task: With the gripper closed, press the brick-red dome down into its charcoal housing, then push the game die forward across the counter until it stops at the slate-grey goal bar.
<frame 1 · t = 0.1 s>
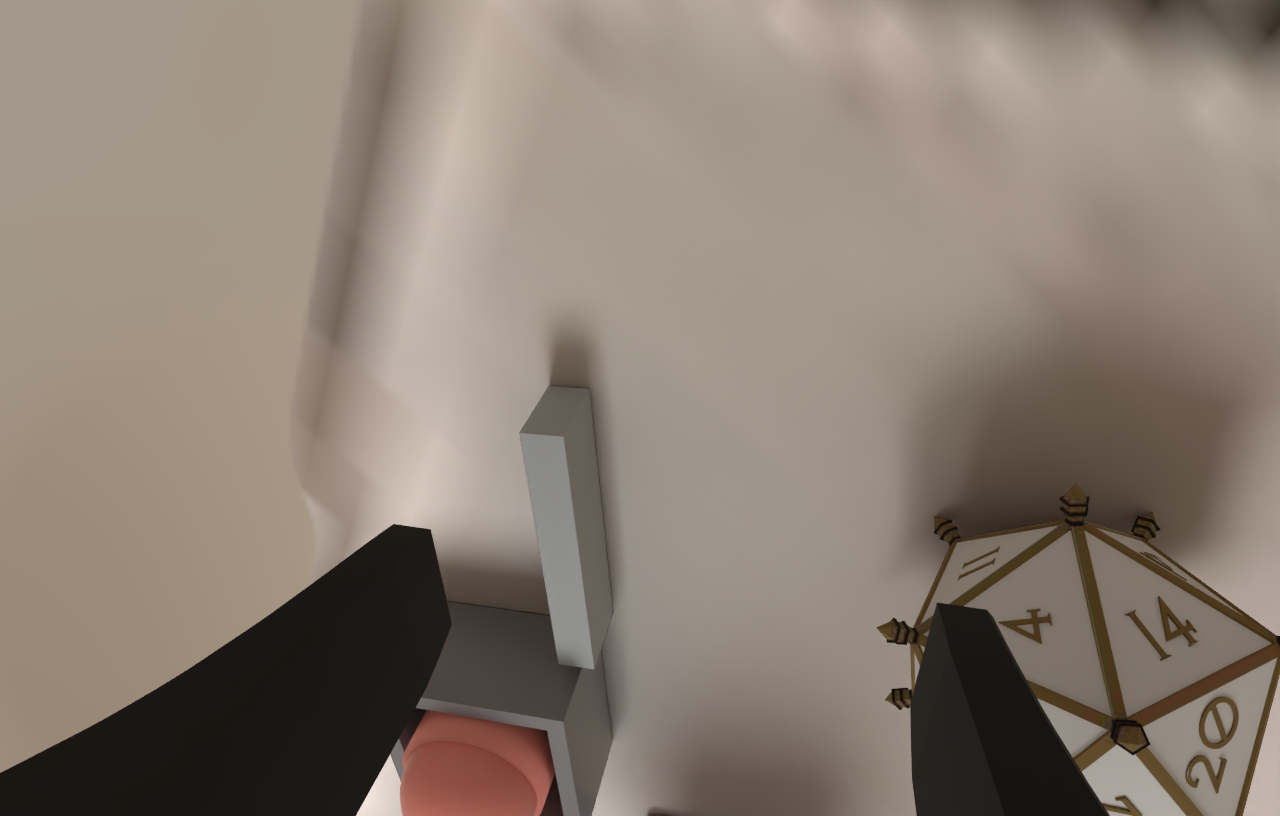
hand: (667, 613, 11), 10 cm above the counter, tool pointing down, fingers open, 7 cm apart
dome: (475, 777, 26), point 4 cm above the counter, slide at 0.0 cm
game die: (1035, 552, 21), on the counter
dome housing: (520, 672, 29), on the counter
goal bar: (584, 510, 24), on the counter
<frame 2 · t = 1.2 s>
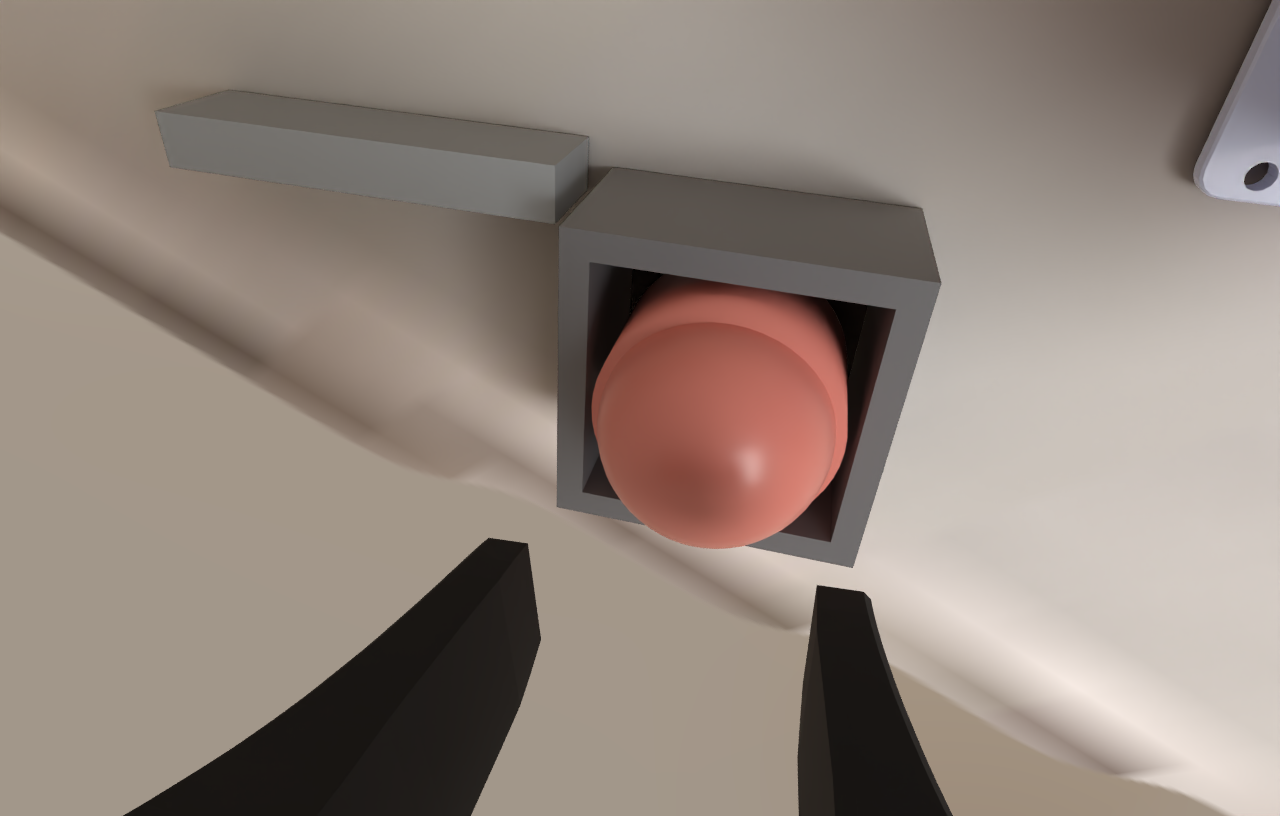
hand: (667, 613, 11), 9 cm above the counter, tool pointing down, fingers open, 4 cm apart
dome: (716, 422, 15), point 4 cm above the counter, slide at 0.0 cm
dome housing: (741, 324, 19), on the counter
goal bar: (404, 138, 18), on the counter
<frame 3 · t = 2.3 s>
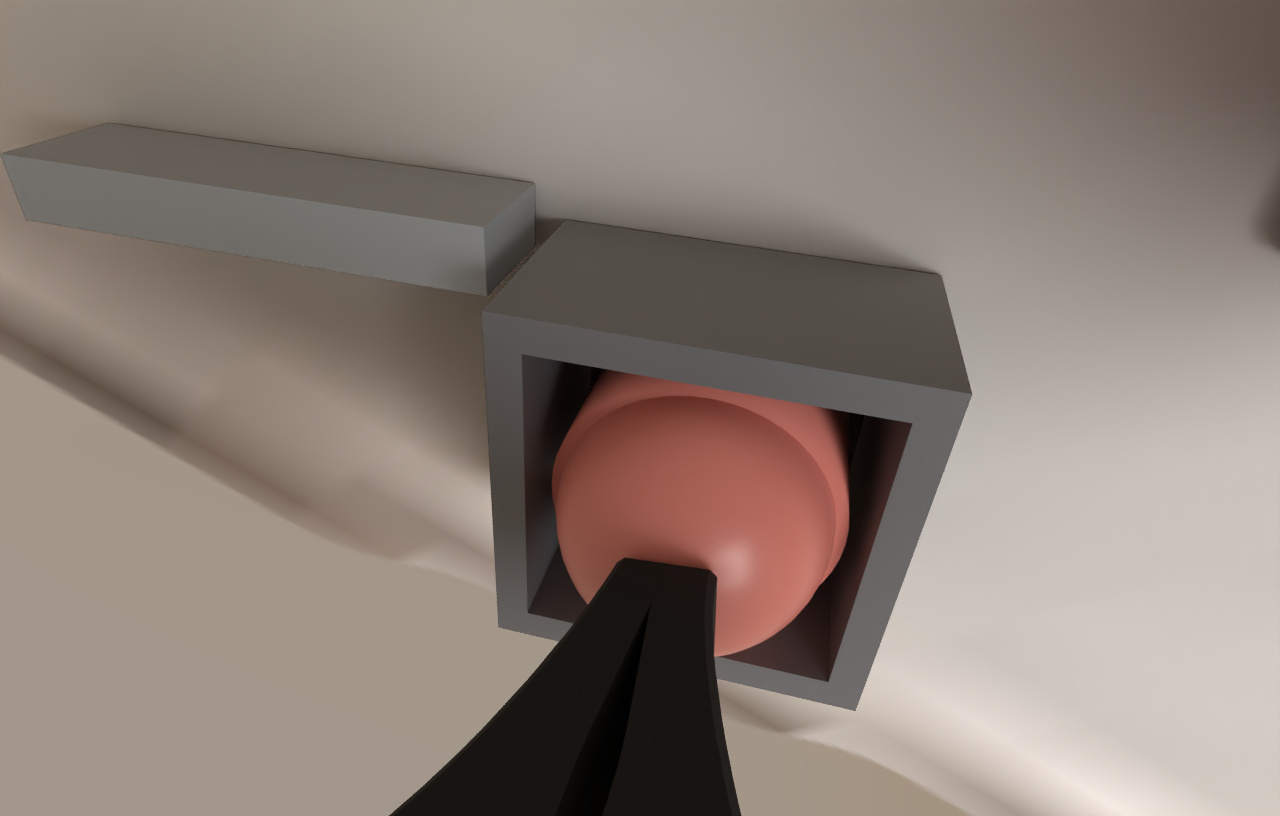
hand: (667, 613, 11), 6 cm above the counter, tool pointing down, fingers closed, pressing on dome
dome: (696, 503, 13), point 3 cm above the counter, slide at 1.1 cm, touching gripper
dome housing: (722, 403, 16), on the counter
goal bar: (317, 182, 15), on the counter
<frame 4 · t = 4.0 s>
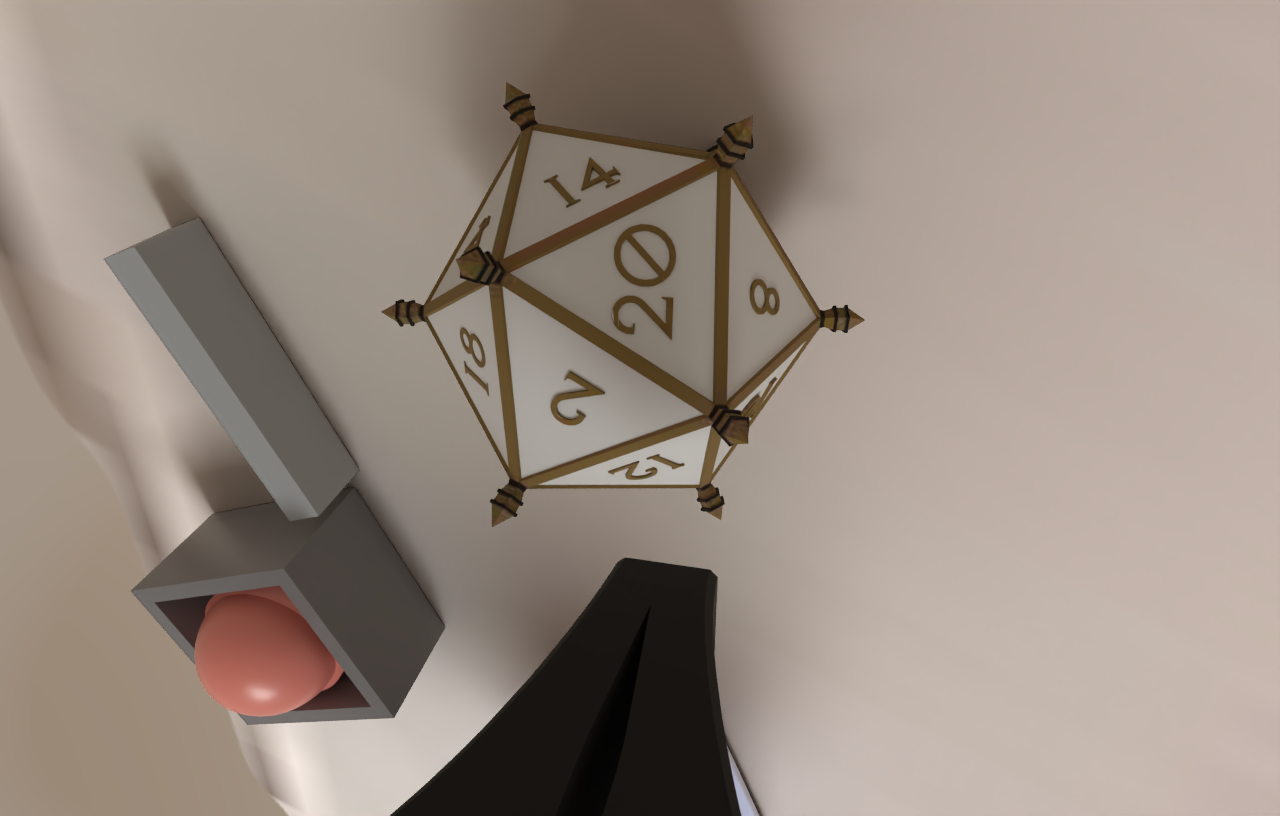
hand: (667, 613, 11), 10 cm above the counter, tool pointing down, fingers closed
dome: (277, 637, 26), point 3 cm above the counter, slide at 1.1 cm
game die: (661, 245, 19), on the counter
dome housing: (330, 571, 29), on the counter
goal bar: (271, 358, 24), on the counter
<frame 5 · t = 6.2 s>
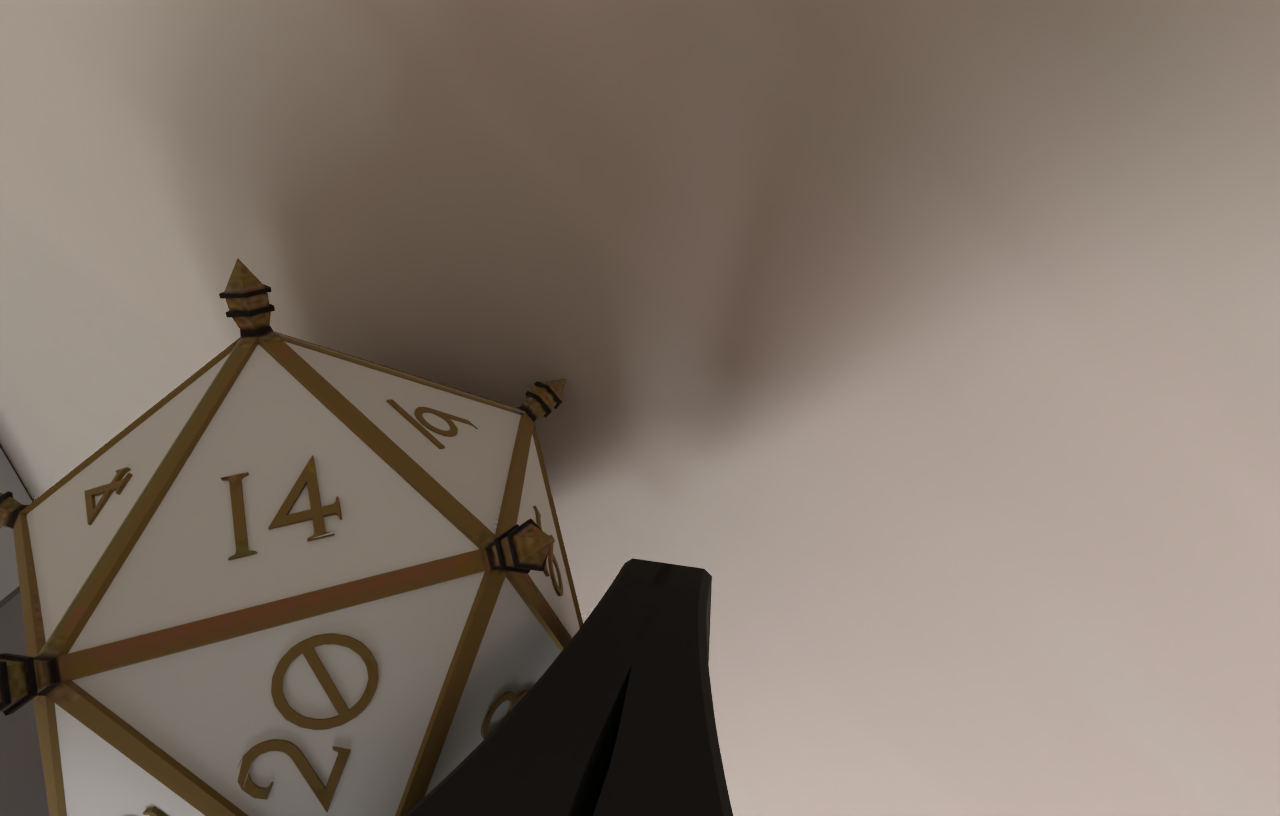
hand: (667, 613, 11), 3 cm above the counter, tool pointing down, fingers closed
game die: (450, 441, 14), on the counter, touching gripper
dome housing: (7, 635, 22), on the counter
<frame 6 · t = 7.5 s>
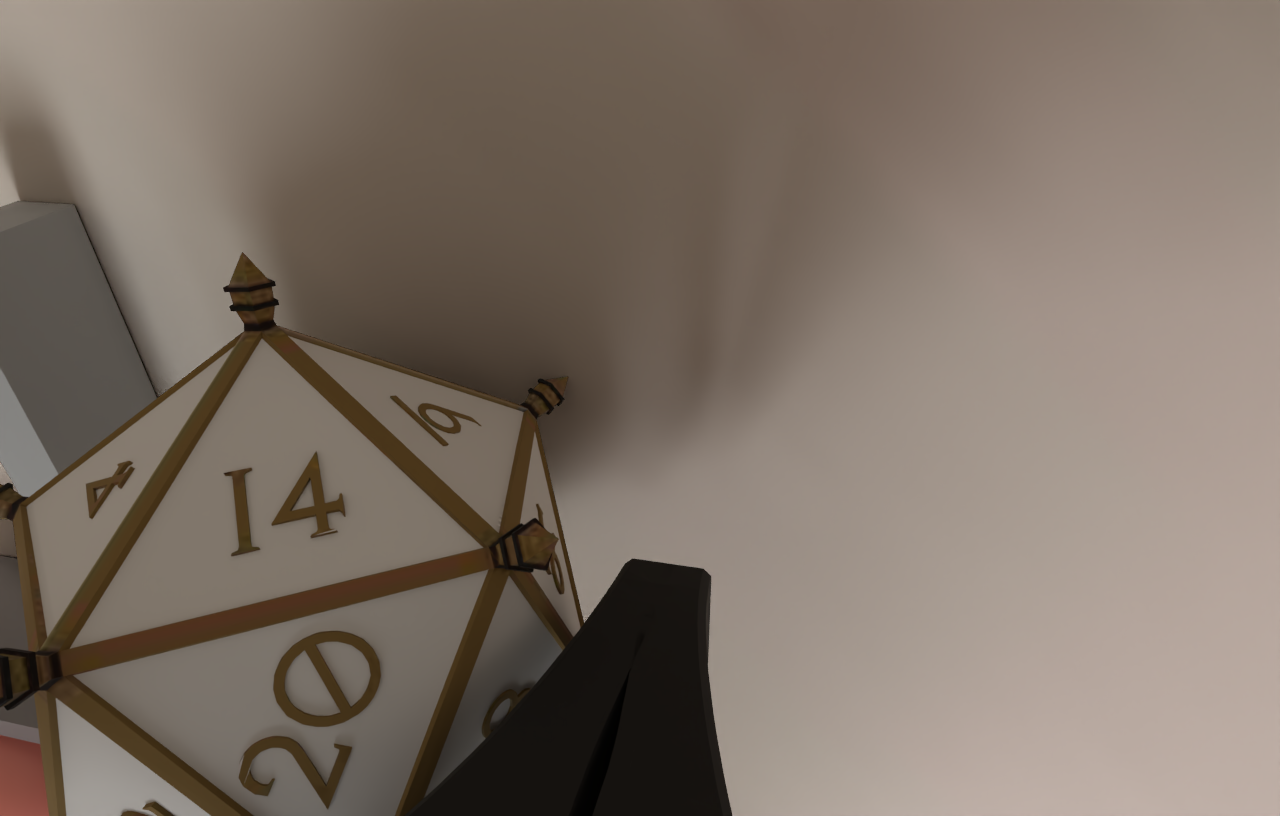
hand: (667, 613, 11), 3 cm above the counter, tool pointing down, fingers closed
dome: (53, 771, 18), point 3 cm above the counter, slide at 1.1 cm
game die: (451, 437, 14), on the counter, touching gripper
dome housing: (153, 663, 21), on the counter
goal bar: (142, 417, 16), on the counter
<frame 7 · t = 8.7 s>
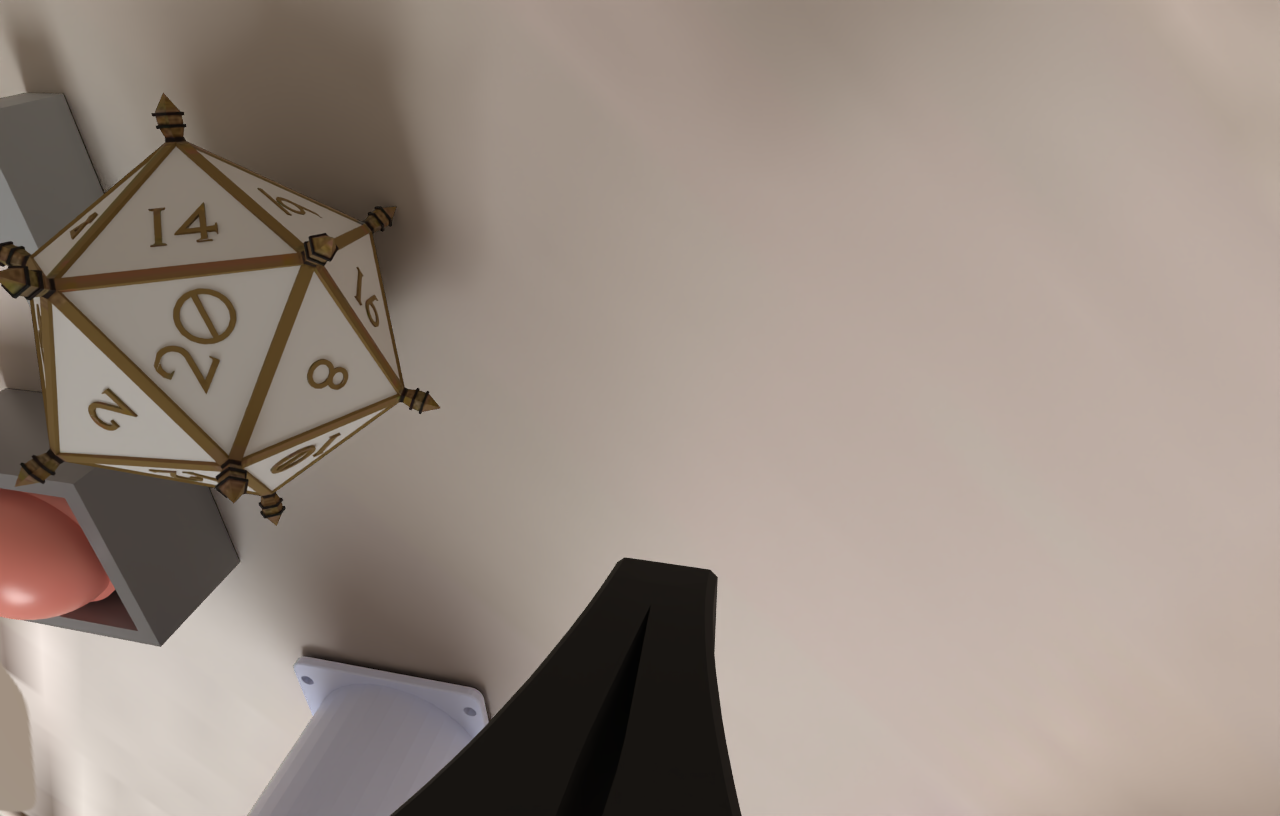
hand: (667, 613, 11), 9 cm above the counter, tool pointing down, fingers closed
dome: (50, 540, 25), point 3 cm above the counter, slide at 1.1 cm
game die: (328, 262, 21), on the counter
dome housing: (127, 478, 27), on the counter
goal bar: (113, 259, 22), on the counter
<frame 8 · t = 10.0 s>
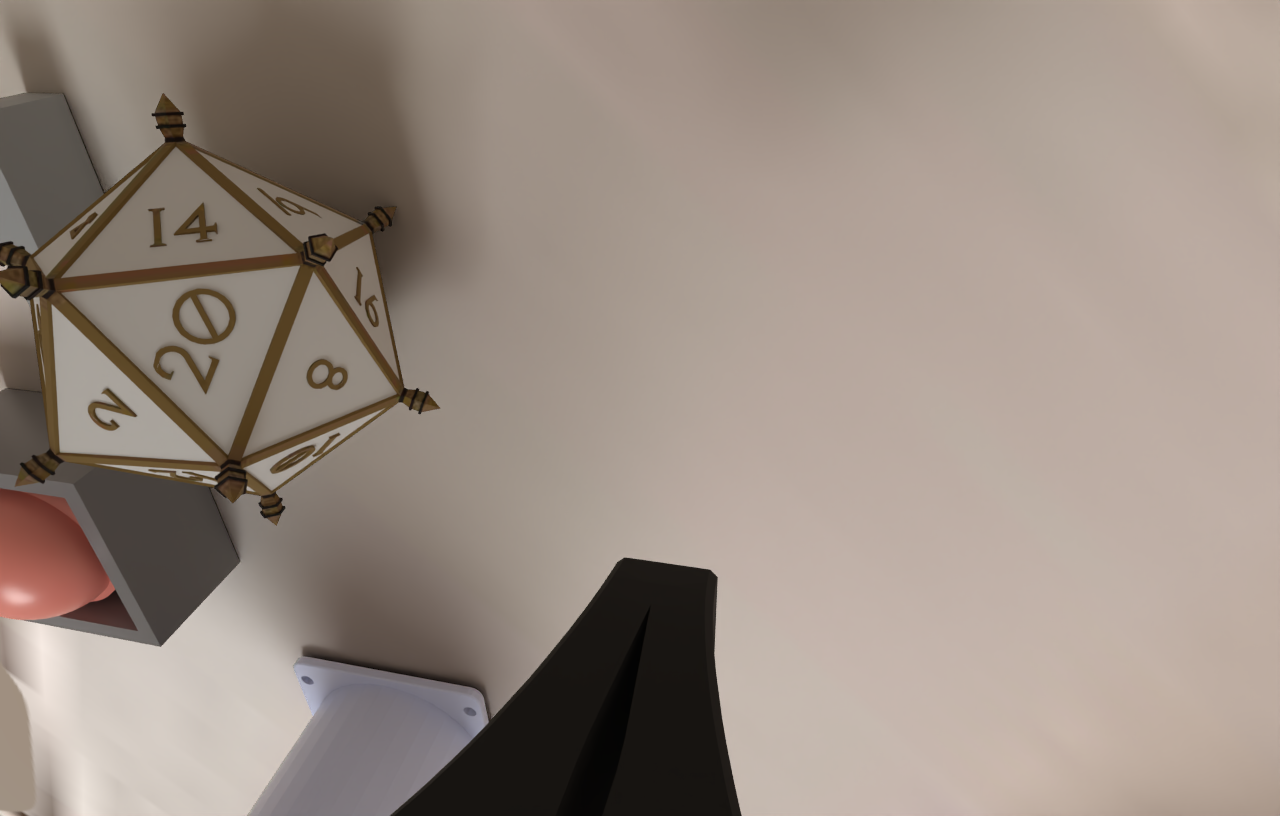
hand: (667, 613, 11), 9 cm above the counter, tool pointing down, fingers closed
dome: (50, 540, 25), point 3 cm above the counter, slide at 1.1 cm
game die: (328, 262, 21), on the counter
dome housing: (127, 478, 27), on the counter
goal bar: (113, 259, 22), on the counter
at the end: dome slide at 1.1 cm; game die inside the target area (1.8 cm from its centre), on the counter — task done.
